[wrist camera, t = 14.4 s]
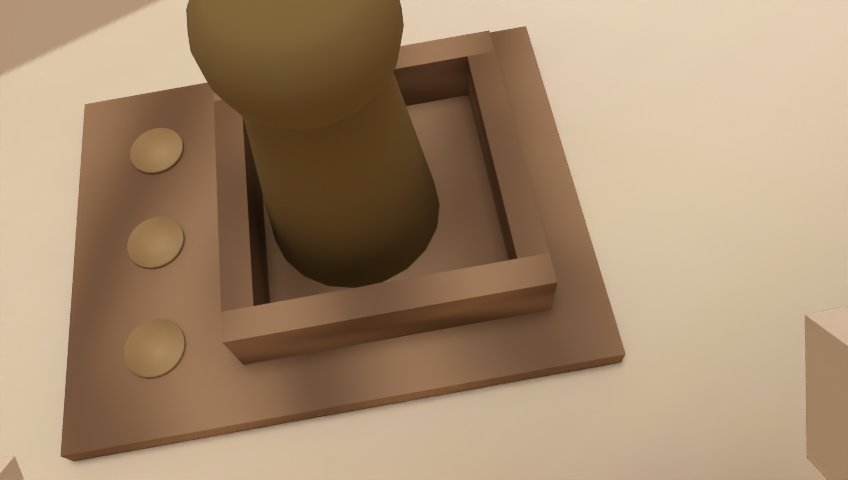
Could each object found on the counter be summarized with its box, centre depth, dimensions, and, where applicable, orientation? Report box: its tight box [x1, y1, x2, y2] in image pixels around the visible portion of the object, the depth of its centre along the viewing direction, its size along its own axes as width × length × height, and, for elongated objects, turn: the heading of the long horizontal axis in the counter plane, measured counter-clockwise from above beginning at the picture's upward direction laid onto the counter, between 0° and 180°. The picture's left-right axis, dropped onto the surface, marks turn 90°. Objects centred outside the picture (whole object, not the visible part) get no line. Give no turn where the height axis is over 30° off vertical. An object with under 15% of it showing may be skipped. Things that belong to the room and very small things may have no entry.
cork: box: [186, 0, 440, 288], centre depth 21 cm, size 6×6×11 cm
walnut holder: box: [61, 26, 625, 461], centre depth 26 cm, size 18×14×3 cm
